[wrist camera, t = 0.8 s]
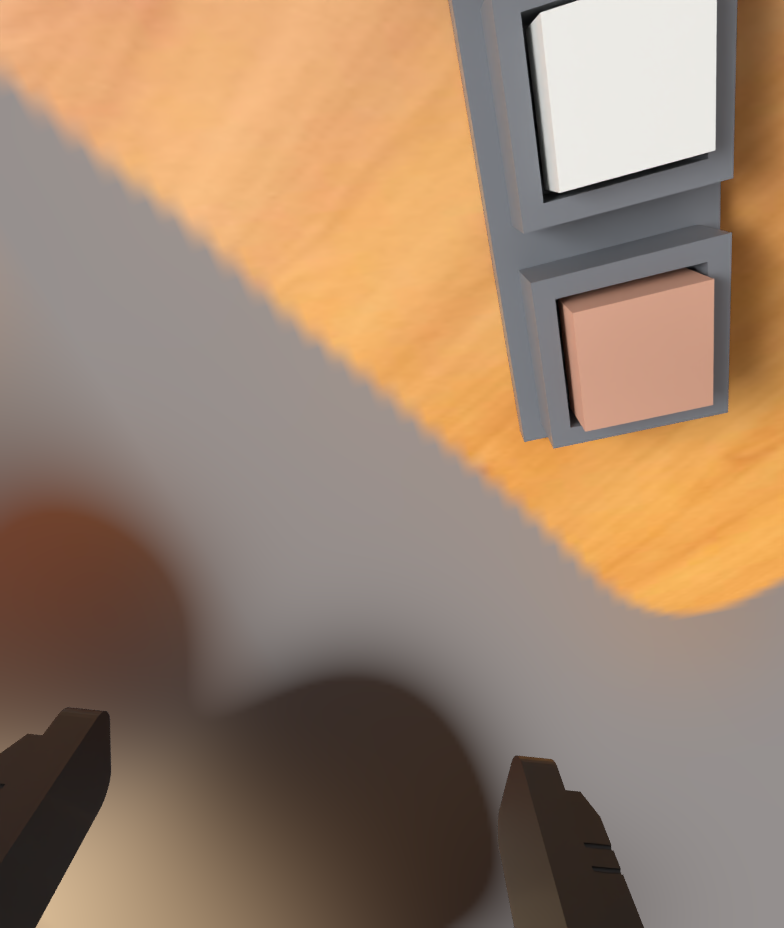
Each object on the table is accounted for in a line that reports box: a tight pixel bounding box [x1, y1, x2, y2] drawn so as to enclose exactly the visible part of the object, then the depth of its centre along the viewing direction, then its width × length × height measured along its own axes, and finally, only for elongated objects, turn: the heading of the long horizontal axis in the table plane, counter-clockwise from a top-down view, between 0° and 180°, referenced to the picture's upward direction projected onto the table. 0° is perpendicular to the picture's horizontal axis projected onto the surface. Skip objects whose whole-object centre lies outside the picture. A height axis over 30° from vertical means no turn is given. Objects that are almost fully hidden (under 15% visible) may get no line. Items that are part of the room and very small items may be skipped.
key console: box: [448, 0, 737, 448], centre depth 27 cm, size 22×11×5 cm, turn 15°
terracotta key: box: [558, 267, 714, 432], centre depth 27 cm, size 6×6×3 cm
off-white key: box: [526, 0, 717, 193], centre depth 22 cm, size 6×6×3 cm
